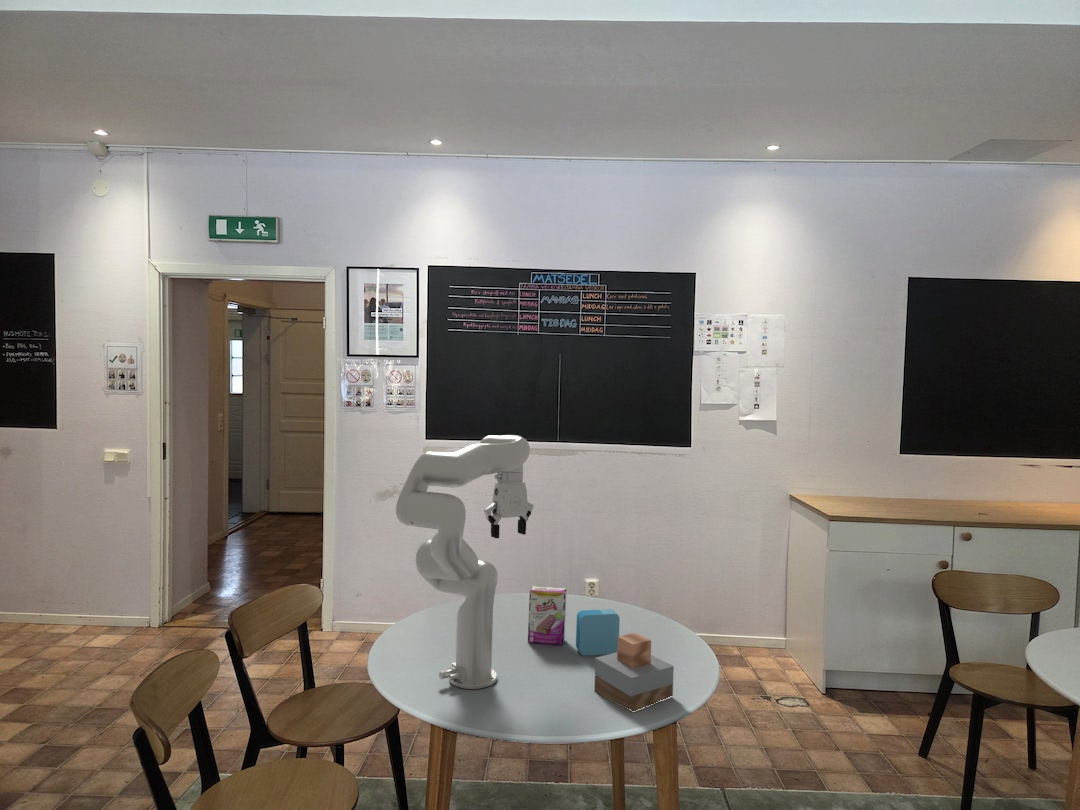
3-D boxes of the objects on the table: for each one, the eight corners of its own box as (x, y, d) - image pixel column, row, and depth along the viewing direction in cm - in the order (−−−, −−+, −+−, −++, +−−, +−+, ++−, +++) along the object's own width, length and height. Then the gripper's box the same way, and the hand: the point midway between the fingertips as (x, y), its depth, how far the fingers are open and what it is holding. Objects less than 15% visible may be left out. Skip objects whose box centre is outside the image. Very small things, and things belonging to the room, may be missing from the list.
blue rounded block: (614, 648, 200) (615, 608, 199) (618, 654, 195) (620, 613, 195) (575, 650, 197) (576, 610, 197) (579, 656, 193) (580, 615, 192)
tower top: (631, 696, 159) (631, 678, 159) (594, 675, 171) (595, 657, 170) (673, 683, 167) (673, 666, 167) (635, 664, 178) (636, 647, 178)
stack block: (632, 668, 164) (633, 644, 164) (617, 659, 170) (617, 636, 169) (650, 663, 168) (651, 640, 168) (635, 655, 173) (635, 632, 173)
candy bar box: (527, 643, 201) (528, 590, 201) (529, 637, 206) (530, 585, 206) (564, 646, 200) (565, 592, 200) (565, 639, 205) (566, 587, 205)
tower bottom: (634, 714, 159) (634, 696, 159) (594, 693, 170) (594, 675, 170) (672, 699, 168) (673, 682, 168) (632, 679, 179) (632, 663, 179)
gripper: (493, 480, 185) (491, 541, 185) (541, 477, 196) (539, 534, 196) (478, 477, 191) (476, 536, 191) (525, 474, 202) (523, 530, 202)
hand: (508, 535), depth 194 cm, fingers open, 9 cm apart
